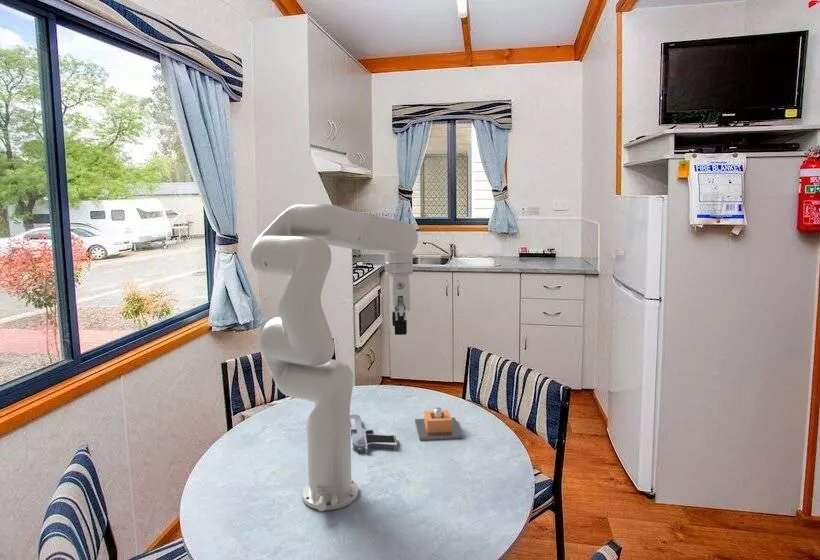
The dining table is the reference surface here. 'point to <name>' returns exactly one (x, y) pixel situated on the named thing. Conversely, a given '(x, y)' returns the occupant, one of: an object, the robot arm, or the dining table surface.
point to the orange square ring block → (438, 422)
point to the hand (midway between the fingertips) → (399, 329)
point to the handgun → (369, 438)
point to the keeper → (438, 435)
